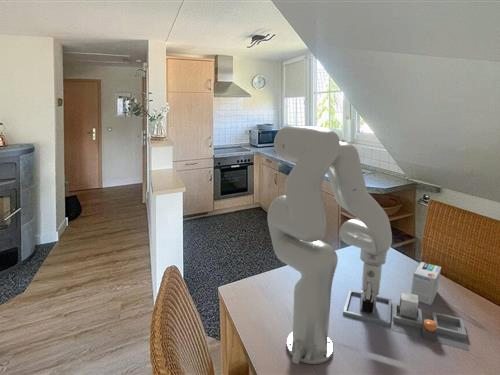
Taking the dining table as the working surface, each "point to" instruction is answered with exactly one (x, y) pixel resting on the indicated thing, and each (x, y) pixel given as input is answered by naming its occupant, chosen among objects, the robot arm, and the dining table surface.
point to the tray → (368, 316)
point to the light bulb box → (426, 282)
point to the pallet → (439, 337)
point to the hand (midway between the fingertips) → (367, 306)
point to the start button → (430, 325)
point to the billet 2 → (408, 306)
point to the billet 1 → (370, 296)
